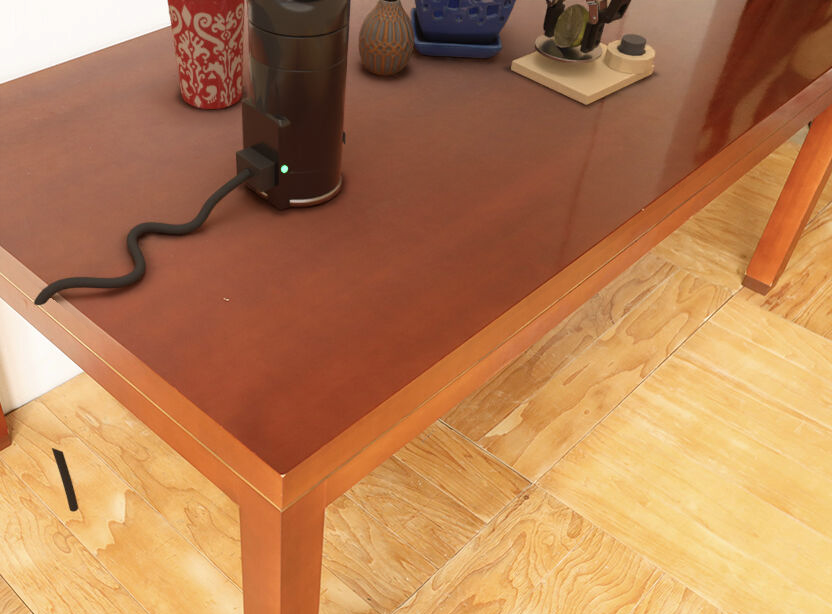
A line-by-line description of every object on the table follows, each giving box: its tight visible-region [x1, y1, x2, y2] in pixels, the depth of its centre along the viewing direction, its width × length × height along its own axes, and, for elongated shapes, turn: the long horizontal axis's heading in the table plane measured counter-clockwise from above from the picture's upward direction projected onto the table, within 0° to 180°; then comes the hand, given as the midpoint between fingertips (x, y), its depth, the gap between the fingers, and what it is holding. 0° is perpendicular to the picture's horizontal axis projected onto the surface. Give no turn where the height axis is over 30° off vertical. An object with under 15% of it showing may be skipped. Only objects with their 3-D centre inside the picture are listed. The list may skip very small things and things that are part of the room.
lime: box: [554, 3, 590, 48], centre depth 105 cm, size 4×5×5 cm
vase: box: [358, 0, 415, 77], centre depth 105 cm, size 7×7×9 cm
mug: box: [167, 0, 246, 110], centre depth 98 cm, size 13×9×14 cm
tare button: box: [619, 33, 647, 56], centre depth 108 cm, size 3×3×2 cm
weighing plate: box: [534, 34, 603, 64], centre depth 107 cm, size 8×8×1 cm
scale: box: [510, 39, 656, 106], centre depth 109 cm, size 14×12×3 cm
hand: (569, 42), depth 107 cm, fingers closed on lime, 5 cm apart
